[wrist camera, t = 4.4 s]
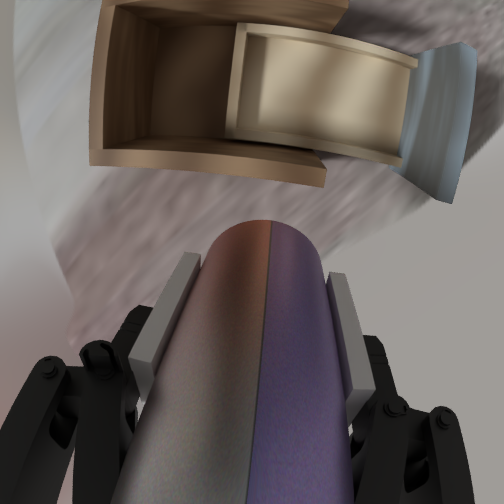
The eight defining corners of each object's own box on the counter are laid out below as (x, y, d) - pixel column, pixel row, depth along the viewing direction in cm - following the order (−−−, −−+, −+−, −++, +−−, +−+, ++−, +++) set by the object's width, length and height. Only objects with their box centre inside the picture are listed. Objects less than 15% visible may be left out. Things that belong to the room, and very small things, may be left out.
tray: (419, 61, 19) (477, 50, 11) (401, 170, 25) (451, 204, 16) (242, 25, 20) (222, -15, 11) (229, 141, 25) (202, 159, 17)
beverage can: (333, 225, 14) (410, 602, 1) (305, 317, 17) (308, 592, 4) (212, 205, 14) (41, 566, 1) (205, 301, 17) (124, 568, 4)
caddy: (327, 27, 20) (349, -7, 12) (309, 161, 26) (323, 188, 18) (152, 19, 20) (103, -6, 12) (141, 145, 26) (89, 165, 18)
